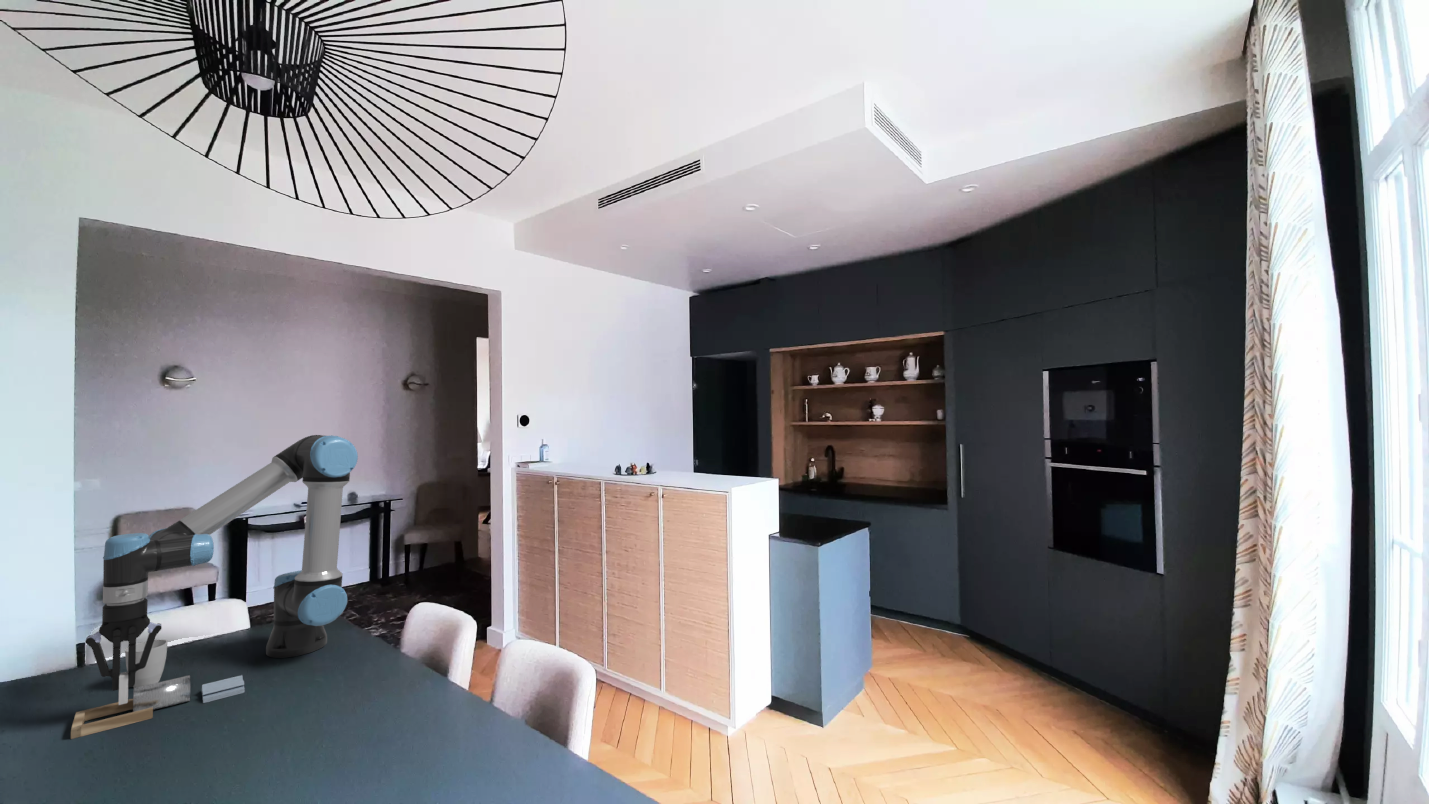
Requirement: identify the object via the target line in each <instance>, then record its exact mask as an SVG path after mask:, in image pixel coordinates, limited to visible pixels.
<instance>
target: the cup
mask: <svg viewBox="0 0 1429 804" xmlns="http://www.w3.org/2000/svg"><path fill="white" fill-rule="evenodd" d="M146 641H147V640H146ZM146 641H141V642H138V643H137V642H136V664H137V663H139V662H140V659H141V656H142V653H143V650H144V647H145V644H146ZM167 651H168V640H167V639H154V643H153V646H152V649H151V652H150V655H149V658H148V661H147V664H146V666H145V668H143V669H140V670H138V671H136V673H135V685H134V686H133V689H134V688H137V687H141V686H145V685H150V684H154V683H158V682H160V680H161V677H162V675H163V672H164V669H165V665H166V660H167V654H168V653H167ZM124 652H125V653H124V654H125V655H124V657H125V666H126V672H128V647H126V648H125V650H124Z"/></svg>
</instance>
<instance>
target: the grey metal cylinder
mask: <svg viewBox="0 0 1429 804" xmlns="http://www.w3.org/2000/svg"><path fill="white" fill-rule="evenodd" d="M132 699H133V709H132V712H135V711H140V710H144V709H148V708H152V707H153V711H155V710H158V709H164V708H168V707H171V706H175V705H178V704H179V705H180V704H183V703H186V702H187V703H188V702H190V701H191V675H184V676H181V677H177V678H171V679H167V680H163V681H159V682H158V683H154V684H150V685H145V686H141V687H137V688H134V687H133V698H132Z"/></svg>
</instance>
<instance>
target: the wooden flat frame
mask: <svg viewBox="0 0 1429 804" xmlns="http://www.w3.org/2000/svg"><path fill="white" fill-rule="evenodd" d="M130 710H133V698H128V703H126V704H121V705H119V701H117V702H113V703H108V704H105V705H100V706H97V707H91V708H87V709H83V710H80V711H75V715H74V719H73V721H72V725H71V729H70V740H73V739H77V738H81V737H85V736H89V735H92V734H96V733H100V732H104V731H105V732H106V731H108V730H112V729H115V728H120V727H123V726H128V725H131V724H134V723H138V722H139V723H140V722H143V721H147V720H150V719H151V720H152V719H153V718H154V717H153V716H154V710H153V707H152V708H148V709H144V710H140V711H135V712H133V711H132V712H128V713H124V714H120V715H117V716H116V715H115V714H118V713H123V712H127V711H130ZM111 715H115V716H111ZM106 716H111V717H108V718H105V719H100V718H103V717H106ZM98 718H99V719H100V720H96V721H92V722H91V721H90V722H88V723H85V722H87V721H89V720H94V719H98Z"/></svg>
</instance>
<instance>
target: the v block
mask: <svg viewBox="0 0 1429 804" xmlns="http://www.w3.org/2000/svg"><path fill="white" fill-rule="evenodd" d="M245 689H246V688H245V680H244V679H243V674H241V675H237V676H234V677H233V676H232V677H228V678H225V679H220V680H217V681H211V682H208V683H204V684H202V685H201V697H202V703H203V704H206V703H209V702H213V701H216V700H217V701H218V700H220V699H224V698H228V697H232V696H236V695H240V694H244V693H246V692H245Z"/></svg>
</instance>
